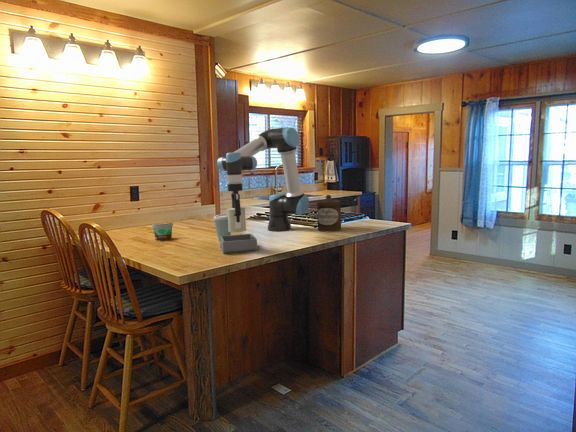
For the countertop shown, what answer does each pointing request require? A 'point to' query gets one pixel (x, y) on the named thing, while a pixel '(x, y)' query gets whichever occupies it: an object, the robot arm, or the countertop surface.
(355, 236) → the countertop surface
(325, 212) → the wooden container
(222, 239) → the tub
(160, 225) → the food container
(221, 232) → the disposable coffee cup
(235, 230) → the can
